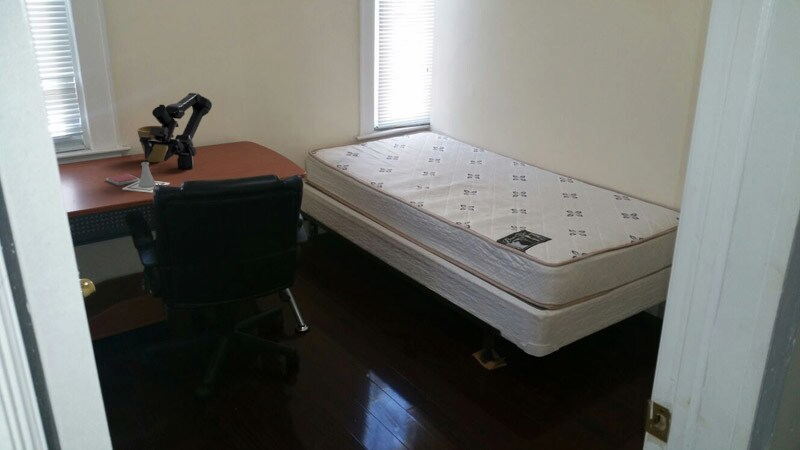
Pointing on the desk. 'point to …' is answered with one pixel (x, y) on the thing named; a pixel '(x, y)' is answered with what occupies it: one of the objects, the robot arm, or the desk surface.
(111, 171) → the desk surface
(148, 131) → the plant pot
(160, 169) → the desk surface
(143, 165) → the flask
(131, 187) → the marked board
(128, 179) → the ink pad
